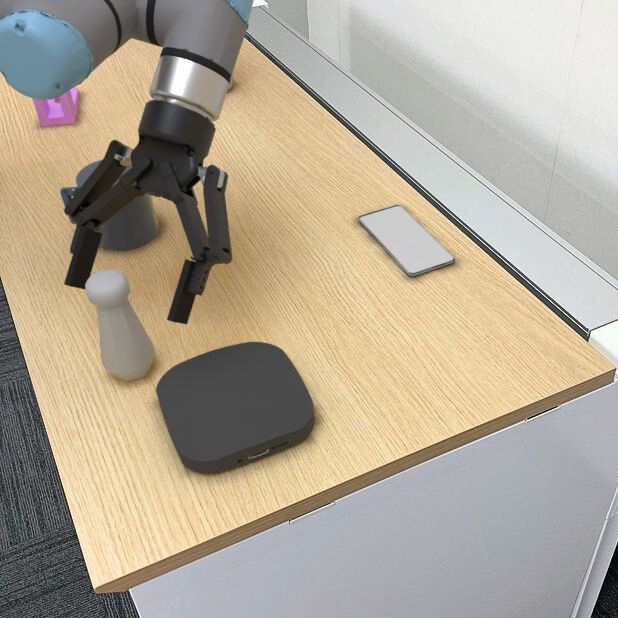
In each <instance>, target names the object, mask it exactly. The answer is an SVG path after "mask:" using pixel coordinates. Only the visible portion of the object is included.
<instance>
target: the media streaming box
mask: <svg viewBox="0 0 618 618" xmlns="http://www.w3.org/2000/svg"><path fill="white" fill-rule="evenodd" d="M155 392H156V396H157V399H158V403H159V407H160V410H161V414H162V416H163V420H164V423H165V426H166V429H167V431H168V434H169V437H170V439H171V441H172V444H173V446H174V448H175V450H176V453H177V456H178V457H179V460H180V462H181V463H182V464H183V465H184V466H185V467H186V468H188V469H189V470H191V471H193V472H196V473H202V474H219V473H222V472H225V471H227V470H230V469H234V468H236V467H241V466H243V465H246V464H249V463H252V462H254V461H257V460H260V459H262V458H265V457H268V456H270V455H273V454H275V453H278V452H281V451H283V450H285V449H288V448H291V447H292V446H295V445H298V444H299V443H301V442H303V441H304V440H306V438H307V437H308V436H309V435H310V433H311V432H312V430H313V428H314V425H315V411H314V402H313V398H312V397H311V394H310V391H309V390H308V388H307V386H306V384H305V382H304V380H303V378H302V376H301V374H300V373H299V371H298V370H297V368H296V366H295V364H294V363H293V362H292V360H291V359H290V357H289V356H288V355H287V353H286V352H285V351H284V350H283V349H282V348H281V347H279V346H278V345H275V344H272V343H268V342H264V341H246V342H241V343H240V342H239V343H236V344H230V345H227V346H223V347H219V348H215V349H213V350H209V351H207V352H204V353H201V354H198V355H196V356H193V357H191V358H187V359H186V360H184V361H181V362H179V363H177V364H175V365H174V366H172V367H171V368H169V369H168V370H167V371H166V372H165V373H163V375H162V376H161V377H160V379H159V380H158V382H157V384H156V387H155Z"/></svg>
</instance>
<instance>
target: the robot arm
mask: <svg viewBox="0 0 618 618" xmlns="http://www.w3.org/2000/svg"><path fill="white" fill-rule="evenodd" d="M254 1H255V0H0V74H1V75H2V76H3V78H4V79H5V83H7V84H8V85H9V86H10V87H11V88H12V89H13V90H15V91H16V92H18V93H19V94H21V95H23V96H24V97H27V98H31V99H32V98H33V99H38V100H51V99H55V98H58V97H60V96H61V95H63V94H65V93H66V92H68V91H69V90H71V89H72V88H74V87H78V86H79V85H82V83H83V82H85V80H88V78H89V77H90V76H91V74H92V73H93V72H94V71H95V70H96V69H98V67H99V66H101V64H102V63H103V62H104V61H105V60H107V59H108V58H109V57H111V56H112V55H114V53H116V52H117V51H118V50H119V49H121V48H122V47H123V46H124V45H125V44H126V43H127V42H129V41H130V40H132V39H133V40H136V41H139V42H142V43H146V44H149V45H153V46H156V47H159V48H162V49H161V52H160V55H159V58H158V62H157V65H156V67H155V71H154V74H153V77H152V80H151V84H150V87H149V90H148V94H149V96H150V97H151V98H152V99H151V100H148V101H147V102H145V105H144V108H143V111H142V114H141V118H140V122H139V125H138V128H137V133H138V141H137V144H136V145H135V147H134V148H131V147H130V146H128V145H127V144H124V143H122V142H121V141H119V140H117V139H113V140H111V141H110V142H109V143H108V147H107V149H106V151H105V154H104V157H103V158H102V159H101V160H102V161H101V162H100V164H99V165H98V166H97V167H96V169H95V170H94V171H93V172H92V174H91V175H90V176H89V178H88V179H87V180H86V181H85V183H84V184H83V185H82V186H81V188H80V189H79V190H78V191H77V193H76V194H75V195H74V196H72V199H71V200H70V201H69V203H68V204H67V205H66V207H65V206H64V209H63V213H64V214H65V215H66V216H67V217H68V216H70V217H71V218H72V219H73V220H75V222H76V224H75V230H74V233H73V237H72V240H71V244H70V246H69V254H71V255H72V256H71V259H70V262H69V265H68V270H67V272H66V276H65V278H64V279H65V280H64V283H63V284H64V285H65V286H68V287H72V288H76V289H81V290H84V291H86V288H85V284H86V282H87V280H88V278H89V277H90V276H91V275H92V271H93V268H94V264H95V261H96V258H97V254H98V252H99V251H98V250H99V248H100V246H99V244H100V241H101V238H102V234H103V233H100V232H97V231H101V230H100V228H99V227H100V226H101V225H102V224H103V223H105V222H106V221H107V220H108V219H110V218H111V217H112V216H114V215H115V214H116V213H117V212H119V211H120V210H121V209H122V208H124V207H125V206H126V205H127V204H129V203H130V202H131V201H132V200H134V199H135V198H136V197H138V196H143V195H144V194H146V193H147V194H149V195H151V196H152V197H155V198H163V199H164V200H166V201H169V202H172V203H173V204H174V206H175V208H176V211H177V214H178V216H179V219H180V222H181V225H182V228H183V232H184V234H185V237H186V240H187V243H188V245H189V249H190V251H191V254H192V256H189V258H190V259H187V258H184V262H183V265H182V267H181V268H182V269H181V272H180V275H179V278H178V282H177V285H176V289H175V292H174V295H173V299H172V301H171V304H170V305H171V306H170V308H169V311H168V314H167V317H166V321H169V322H171V323H176V324H182V325H188V323H189V319H190V316H191V313H192V309H193V306H194V304H195V300H196V297H197V296H202V295H203V293H204V292H205V289H206V285H207V282H208V280H209V276H210V273H211V269H212V268H213V267H214V266H215V265H216V266H217V265H223V264H224V265H229V264H231V263H232V261H233V253H232V244H231V242H232V241H231V234H230V225H229V217H228V211H227V210H228V209H227V200H226V190H227V185H228V180H229V175H228V173H227V172H226V171H225V170H223V169H222V168H220V167H218V166H217V165H215V164H210V165H208V166H204V161H205V159H206V158H207V157H208V156H209V153H210V150H211V146H212V143H213V140H214V137H215V134H216V131H217V128H216V126H215V124H214V123H213V122H216V121H218V120H219V119H220V116H221V113H222V110H223V106H224V104H225V100H226V97H227V93H228V91H229V90H228V87H229V83H230V79H231V76H232V73H234V70H235V67H236V64H237V61H238V57H239V55H240V51H241V48H242V45H243V42H244V39H245V36H246V33H247V31H248V30H249V27H250V24H249V23H250V17H251V12H252V9H253V4H254ZM227 90H228V91H227ZM33 99H32V100H33ZM131 164H132V168H131V169H130V170H128V171H127V172H126V173H125V174H123V172H124V171H125V169H126V167H127V166H130V165H131ZM122 174H123V175H122ZM121 175H122V176H121ZM120 176H121V177H120ZM119 177H120V178H119ZM118 179H119V182H118V183H117V184H116V185H114V184H115V182H116V181H117V180H118ZM135 181H136V182H135ZM199 182H201V186H202V191H203V192H202V193H203V202H204V204H203V205H204V212H205V219H206V221H205V222H206V226H205V224H204V221H203V218H202V216H201V212H200V210H199V207H198V206H199V202H198V199H197V195H196V193H195V189H194V187H195V186H196V185H197V184H199ZM113 185H114V186H113ZM112 186H113V187H112ZM111 187H112V188H111ZM206 228H207V230H206ZM94 230H95V231H94Z"/></svg>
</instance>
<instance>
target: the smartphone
mask: <svg viewBox="0 0 618 618" xmlns="http://www.w3.org/2000/svg"><path fill="white" fill-rule="evenodd" d="M358 222H359V223H360V225H362V226H363V228H365V230H366V231H368V233H369V234H370V235H371V237H373V238H374V239H375V241H376V242H377V243H378V244H379V245H380V246H381V247H382V248H383V249H384V250H385V251H386V252H387V253H388V254H389V255H390V257H392V259H393V260H394V261H395V262H396V263H397V264H398V265H399V266H400V267H401V268H402V270H404V271H405V272H406V274H407V275H409V276H411V277H413V276H414V277H415V276H418V275H422V274H424V273H428V272H429V271H433V270H437V269H439V268H442V267H445V266H448V265H451V264H453V263H454V262H455V260H456V258H455V256H454V255H453V254H451V252H450V251H449V250H447V249H446V248H445V246H444V245H442V244H441V243H440V242H439V241H438V240H437V239H436V238H435V237H434V236H433V235H432V234H431V233H430V232H429V231H428V230H427V229H426V228H425V227H424V226H423V225H422V224H421V223H420V222H419V221H418V220H416V218H414V216H413V215H411V214H410V212H409V211H407V210H406V209H405V208H404V207H403V205H400V204H395V205H391V206H389V207H385V208H381V209H378V210H375V211H371V212H368V213H365V214H361V215H359V216H358Z"/></svg>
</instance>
